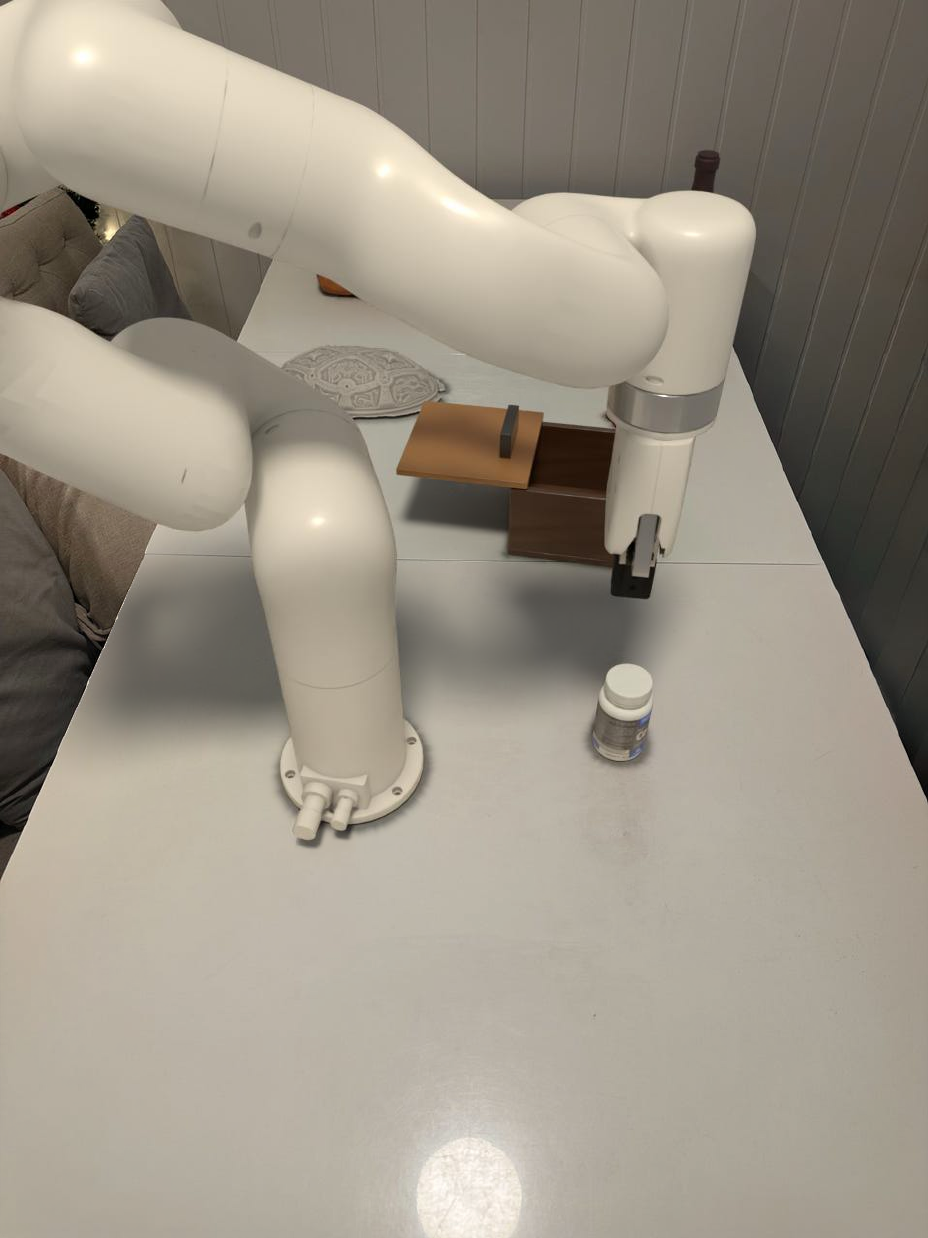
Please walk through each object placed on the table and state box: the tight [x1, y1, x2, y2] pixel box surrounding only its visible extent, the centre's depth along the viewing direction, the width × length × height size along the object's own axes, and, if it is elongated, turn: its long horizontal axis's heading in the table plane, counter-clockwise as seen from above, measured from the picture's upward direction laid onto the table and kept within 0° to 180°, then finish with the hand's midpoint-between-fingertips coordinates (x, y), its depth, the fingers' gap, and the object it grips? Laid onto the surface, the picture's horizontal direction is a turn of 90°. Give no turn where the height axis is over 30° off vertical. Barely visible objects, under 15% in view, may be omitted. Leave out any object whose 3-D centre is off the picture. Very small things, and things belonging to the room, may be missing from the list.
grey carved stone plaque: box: [280, 344, 446, 418], centre depth 125 cm, size 16×25×7 cm, turn 84°
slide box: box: [507, 421, 616, 568], centre depth 103 cm, size 14×14×9 cm
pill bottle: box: [592, 663, 654, 762], centre depth 81 cm, size 5×5×8 cm
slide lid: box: [395, 401, 545, 489], centre depth 100 cm, size 14×14×4 cm
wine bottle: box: [690, 149, 721, 194], centre depth 119 cm, size 7×7×30 cm
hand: (629, 590), depth 75 cm, fingers closed
